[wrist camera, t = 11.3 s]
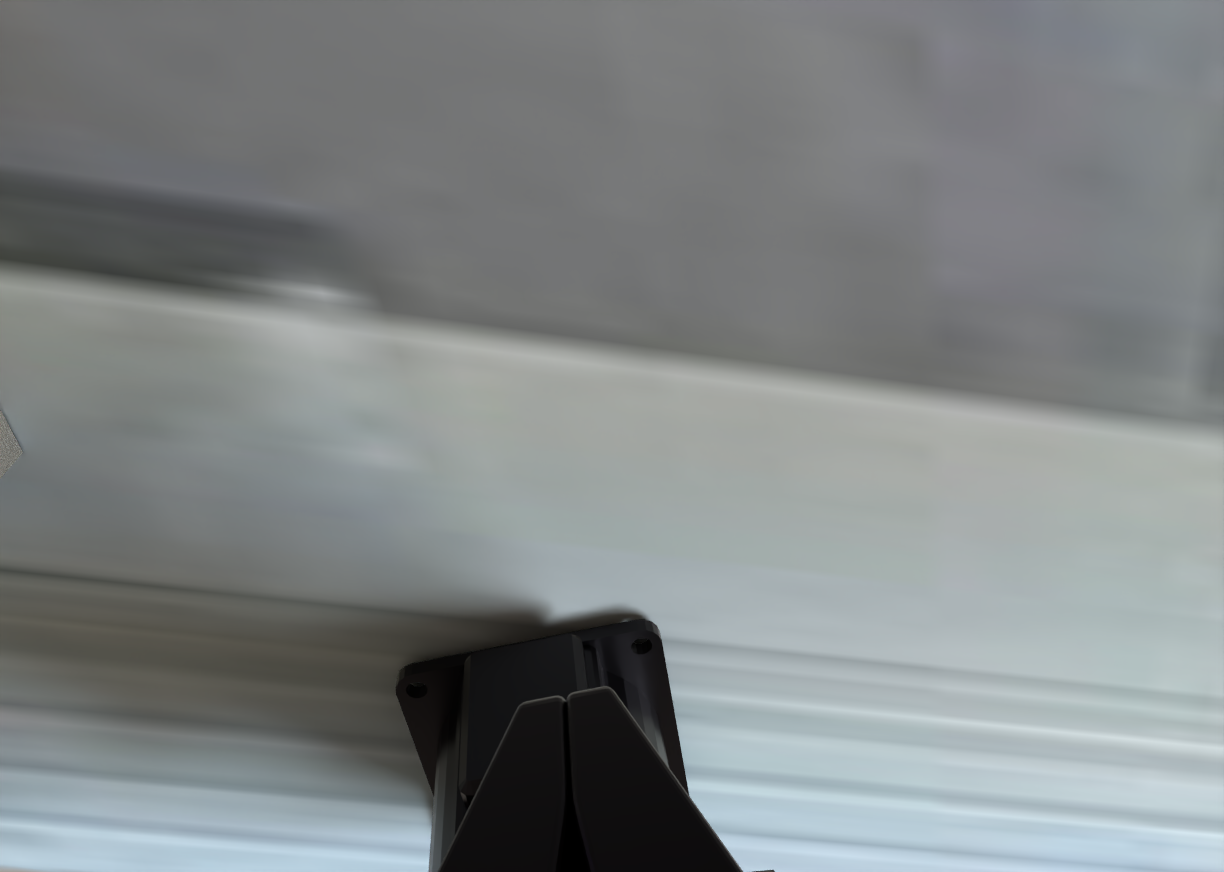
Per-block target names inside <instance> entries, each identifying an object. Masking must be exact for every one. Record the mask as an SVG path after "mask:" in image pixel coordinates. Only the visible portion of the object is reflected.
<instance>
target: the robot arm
mask: <svg viewBox="0 0 1224 872" xmlns="http://www.w3.org/2000/svg"><path fill="white" fill-rule="evenodd" d="M639 638H646V639H648V640H647V641H646V642H643V643H634V641H635V640H637V639H639ZM413 682H420V683H423V684H425V685H423V686H413V685H411V683H413ZM396 695H397V697H398V700H399V703H400V706H401V708H402V711H403V714H404V716H405V719H406V722H407V725H408V727H409V730H410V733H411V736H412V738H413V741H414V744H415V746H416V749H417V752H418V755H419V757H420V760H421V763H422V766H423V768H424V771H425V774H426V776H427V779H428V782H429V785H430V787H431V790H432V793H433V796H434V804H433V817H432V831H431V844H430V858H429V872H743V871H742V870H741V868H740V867H739V865H738V864H737V863H736V861H735V860H734V858H733V857H732V856H731V854H730V853H729V851H728V850H727V848H726V847H725V846H724V844H723V843H722V841H721V840H720V839H719V837H718V836H717V834H716V833H715V832H714V830H713V829H712V827H711V826H710V825H709V823H708V822H707V820H706V819H705V818H704V816H703V815H702V813H701V812H700V811H699V809H698V808H697V806H696V805H695V804H694V802H693V801H692V799H691V798H690V797H689V792H688V786H687V781H686V775H685V769H684V764H683V758H682V753H681V747H680V741H679V736H678V730H677V724H676V719H675V713H674V707H673V702H672V696H671V691H670V685H669V679H668V674H667V668H666V662H665V657H664V651H663V645H662V640H661V636H660V631H659V629H658V627H657V626H656V625H655V624H654V623H653V622H651V621H648V620H645V619H644V620H633V621H628V622H623V623H617V624H612V625H607V626H602V627H597V628H592V629H587V630H581V631H576V632H571V633H566V634H561V635H556V636H551V637H546V638H540V639H535V640H530V641H525V642H520V643H515V644H510V645H504V646H499V647H494V648H489V649H484V650H479V651H474V652H469V653H463V654H458V655H453V656H448V657H443V658H438V659H433V660H427V661H422V662H417V663H412V664H410V665H407V666H405V667H404V668H403V669H401V670H400V672H399V674H398V676H397V683H396ZM754 872H775V871H774V870H766V871H754Z"/></svg>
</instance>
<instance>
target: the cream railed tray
mask: <svg viewBox="0 0 1224 872" xmlns="http://www.w3.org/2000/svg"><path fill="white" fill-rule="evenodd" d="M22 453H23V451H22V449H21V447H20V446H19V444H18V442H17V440H16V438H15V436H14V434H13V432H12V431H11V429H10V427H9V425H8V423H7V421H6V419H5V418H4V416H3V414H2V412H1V410H0V478H1V477H2V476H3V475H4V474H5V472H6V471H7V470H8V469H9V468H10V467H11V466H12V465H13V463H14V462H15V461H16V460H17V459H18V458H19V457H20V455H21V454H22Z"/></svg>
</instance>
